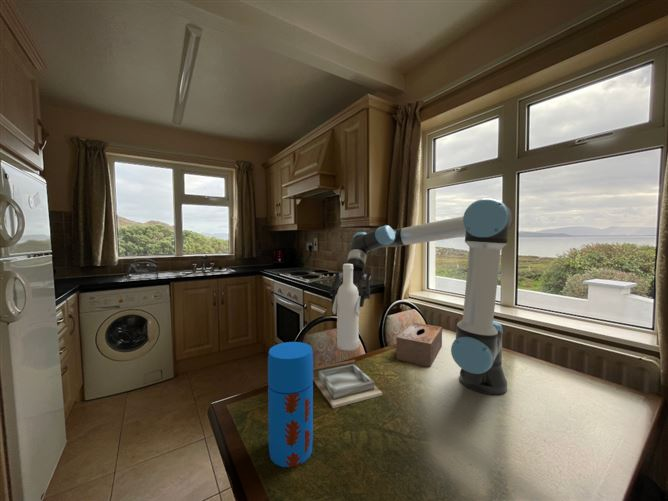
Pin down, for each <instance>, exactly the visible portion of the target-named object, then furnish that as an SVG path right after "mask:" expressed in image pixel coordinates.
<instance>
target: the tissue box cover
mask: <svg viewBox="0 0 668 501" xmlns="http://www.w3.org/2000/svg"><path fill="white" fill-rule="evenodd" d="M442 348H443V327H442V326H439V325H438V326H436V325H432V324H425V323H418V322H412V323H411V324H409V325H408V326H407V327H406V328H405V329H404V330H402V332H401V333H400V334H398V335H397V336H396V360H398V361H402V362H407V363H411V364H416V365H419V366H423V367H428V368H431V367H432V365H433V363H434V362H435V360H436V358H437V356H438V354H439V353H440V351H441V349H442Z"/></svg>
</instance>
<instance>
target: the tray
mask: <svg viewBox="0 0 668 501" xmlns="http://www.w3.org/2000/svg"><path fill="white" fill-rule="evenodd" d="M313 383H315V385H316V386H317V388H318V389H319V390H320V392H321V394H323V396H324V398H325V399H326V401H327V402H328V403H329V405H330V406H331V408H332V409H336V408H341V407H343V406H347V405H351V404H355V403H359V402H363V401H366V400H370V399H373V398H377V397H382V396H383V391H381V390H380V389H379V388H378V387H377V386H376V385H375V381H374V380H373V379H372V378H370V376H368V374H366V373H365V372H364V371H362V370H361V369H360V368H359V367H358V366H357V361H356V359H351V360H346V361H340V362H335V363H330V364H324V365H320V366H315V367H314V366H313Z"/></svg>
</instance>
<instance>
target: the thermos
mask: <svg viewBox="0 0 668 501" xmlns="http://www.w3.org/2000/svg"><path fill="white" fill-rule="evenodd" d="M313 368H314V355H313V347H312V345H310V344H308V343H305V342H301V341H288V342H287V341H286V342H281V343H278V344H275V345H273V346H272V347H270V348H269V351H268V357H267V384H268V385H267V386H268V387H267V397H268V398H267V401H268V402H267V404H268V405H267V407H268V408H267V412H268V413H267V414H268V415H267V422H268V427H267V430H268V431H267V432H268V434H267V440H268V451H269V452H268V453H269V457H270V460H271V461H272V462H273V463H274V465H277V466H279V467H282V468H294V467H297V466H299V465H301V464H304V463H305V462H306V461H307V460H308V459H309V458H310V457H311V455H312V453H313V440H314V398H313V397H314V380H313Z"/></svg>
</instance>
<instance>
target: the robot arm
mask: <svg viewBox="0 0 668 501" xmlns="http://www.w3.org/2000/svg"><path fill="white" fill-rule="evenodd" d="M513 224H514V214H513V211H512V210H511V208H509V207H508V206H507V205H506V204H505V203H504V202H503V201H501V200H499V199H495V198H481V199H478V200H476V201H474V202H472V203H471V204H469V206H468V207H467V208H466V209H465V210H464V213H463V215H461V216H458V217H453V218H447V219H443V220H438V221H432V222H427V223H421V224H416V225H412V226H407V227H402V228H401V227H400V228H397V229H393V228H392V227H391V226H390V225H387V224H385V225H383V226H379V227H378V228H376V229H374V230H373V229H372V230H371V231H369V232H365V231H357V232H355V233H354V235H353V236H352V238H351V240H350V241H351V243H350V247H349V253H348V256H347V259H346V263H345V264H353V284H354V285H355V284H356V285H357V289H358V293H359V294H360V295H359V296H358V301H357V307H356V315H357V316H359V317H360V311H361V308H363V307H364V304H365V300H366V299H368V300H370V298H371V287H370V286H371V284H370V282H371V281H372V280H371V279H372V276H371V273H367V274H366V273H365V268H366V262H367V257H368V253H370V252H372V251H374V250H378V249H380V248H400V247H402V246H403V247H404V246H409V245H415V244H422V243H429V242H435V241H442V240H448V239H449V240H450V239H455V238H456V239H457V238H462V237H465V238H464V243H466V245H467V246H468V247H469V249H468V258H467V259H468V260H467V271H466V281H465V282H466V283H465V290H464V291H465V292H464V300H463V302H464V303H463V312H462V319H461V320H460V321H458V322H457V324H456V333H455V339H454V340H453V342H452V344H451V347H450V348H451V349H450V354H451V357H452V359H453V361H454V362H455V363H456V365H457V366H458V367H459V368H460V371H459V380H460V383H461V384H463V385H464V386H465V387H466V388H468V389H470V390H472V391H475V392H478V393H482V394H486V395H501V394H505V393H506V392H507V391H508V381H507V379H506V375H505V372H504V369H503V366H502V364H503V362H502V359H503V334H504V332H503V326H502V324H501V323H499V322H497V321H494V316H495V308H496V297H497V287H498V279H499V269H500V268H499V267H500V260H501V250H502V249H503V248H504V247H506V246H507V245H508V240H509V231H510V229H512V226H513ZM342 279H343V272H339V271H337V272H336V273H335V278H334V280H333V283H332V284H331V287H330V288H329V295H330V297H332V299H331V304H332V308H331V311H332V313H333V315H336V314H337V293H338V289H339V287H340V286H341V285H342V284H343V280H342ZM363 279H364V280H365V293H364V290H363V287H362V284H361V281H362V280H363ZM341 280H342V281H341ZM340 281H341V282H340Z"/></svg>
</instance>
